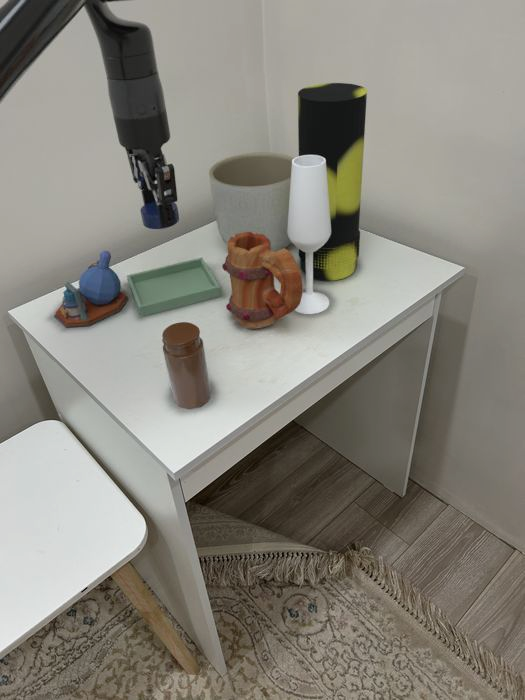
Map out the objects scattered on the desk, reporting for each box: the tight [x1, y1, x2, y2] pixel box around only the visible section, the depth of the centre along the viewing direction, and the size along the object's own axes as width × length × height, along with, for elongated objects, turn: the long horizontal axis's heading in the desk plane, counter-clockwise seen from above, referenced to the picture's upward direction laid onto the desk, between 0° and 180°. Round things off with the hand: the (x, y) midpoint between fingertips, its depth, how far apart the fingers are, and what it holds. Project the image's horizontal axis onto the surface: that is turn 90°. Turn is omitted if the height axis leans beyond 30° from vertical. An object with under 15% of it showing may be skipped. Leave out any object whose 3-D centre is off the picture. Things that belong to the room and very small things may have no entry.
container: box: [297, 82, 368, 282], centre depth 91 cm, size 11×11×30 cm
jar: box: [161, 321, 212, 410], centre depth 72 cm, size 5×5×11 cm
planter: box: [208, 151, 295, 252], centre depth 104 cm, size 17×17×15 cm
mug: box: [221, 232, 304, 329], centre depth 82 cm, size 15×8×15 cm, turn 42°
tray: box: [126, 257, 222, 318], centre depth 96 cm, size 14×11×2 cm
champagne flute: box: [287, 155, 331, 315], centre depth 84 cm, size 7×7×24 cm
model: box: [53, 250, 129, 329], centre depth 91 cm, size 12×9×9 cm
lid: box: [139, 201, 180, 230], centre depth 88 cm, size 6×6×2 cm
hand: (160, 217), depth 88 cm, fingers closed on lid, 6 cm apart
